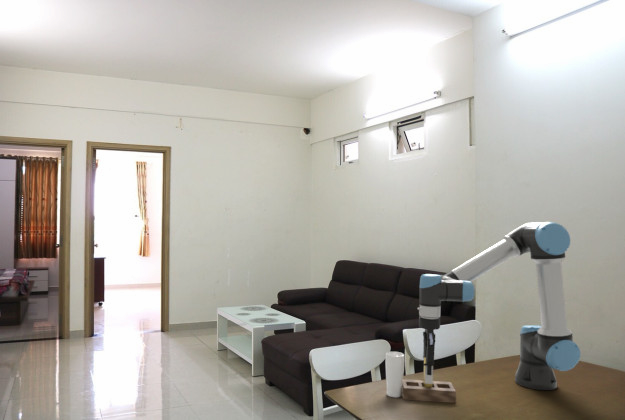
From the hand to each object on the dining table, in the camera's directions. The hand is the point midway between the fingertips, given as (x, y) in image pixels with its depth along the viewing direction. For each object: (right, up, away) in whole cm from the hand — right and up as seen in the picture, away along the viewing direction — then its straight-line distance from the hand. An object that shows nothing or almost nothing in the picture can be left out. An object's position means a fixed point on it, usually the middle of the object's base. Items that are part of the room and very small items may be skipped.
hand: (427, 381), depth 177 cm
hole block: (0, -5, 0) cm, 5 cm away
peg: (0, -4, 0) cm, 4 cm away
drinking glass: (-12, -5, 0) cm, 13 cm away
